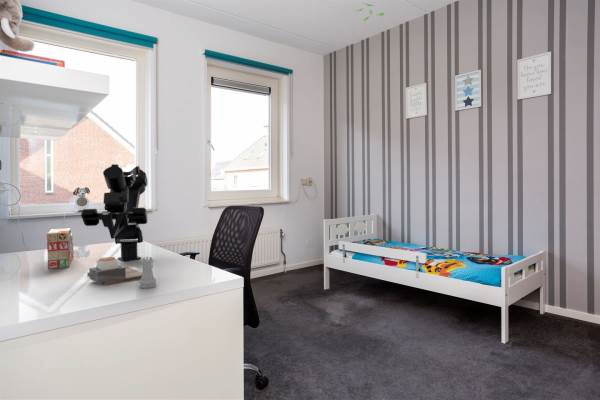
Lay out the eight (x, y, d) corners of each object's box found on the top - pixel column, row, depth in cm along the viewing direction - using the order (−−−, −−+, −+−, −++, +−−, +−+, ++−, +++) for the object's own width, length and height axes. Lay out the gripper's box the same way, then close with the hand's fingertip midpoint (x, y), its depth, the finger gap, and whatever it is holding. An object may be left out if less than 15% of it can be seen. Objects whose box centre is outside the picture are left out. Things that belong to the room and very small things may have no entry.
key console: (81, 276, 117) (80, 263, 117) (127, 269, 127) (126, 257, 127) (98, 286, 106) (98, 272, 106) (147, 277, 116) (147, 264, 115)
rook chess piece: (145, 289, 103) (144, 260, 103) (135, 287, 106) (134, 258, 105) (159, 285, 107) (159, 257, 106) (150, 283, 109) (149, 255, 109)
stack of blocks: (55, 258, 147) (53, 226, 147) (73, 256, 150) (72, 225, 150) (47, 269, 128) (46, 232, 128) (69, 267, 131) (68, 231, 131)
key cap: (96, 274, 111) (96, 258, 111) (112, 271, 114) (112, 256, 114) (102, 276, 108) (101, 260, 108) (118, 273, 111) (117, 258, 111)
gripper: (81, 183, 120) (71, 223, 110) (145, 182, 124) (141, 220, 115) (89, 206, 128) (81, 245, 118) (149, 204, 133) (145, 242, 123)
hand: (112, 237), depth 118 cm, fingers closed
